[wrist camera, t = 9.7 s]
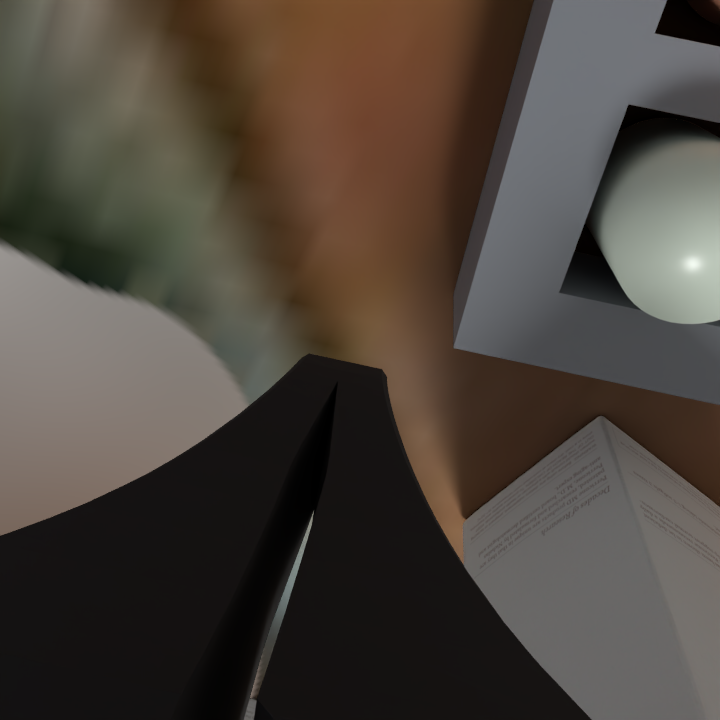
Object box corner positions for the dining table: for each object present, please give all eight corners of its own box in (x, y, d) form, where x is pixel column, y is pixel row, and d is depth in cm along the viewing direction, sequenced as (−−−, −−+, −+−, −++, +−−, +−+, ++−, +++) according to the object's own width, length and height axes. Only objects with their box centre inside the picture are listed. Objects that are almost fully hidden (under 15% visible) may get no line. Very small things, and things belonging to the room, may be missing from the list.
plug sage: (561, 239, 19) (589, 305, 15) (608, 104, 17) (655, 139, 13) (688, 265, 19) (750, 338, 15) (751, 133, 17) (842, 177, 13)
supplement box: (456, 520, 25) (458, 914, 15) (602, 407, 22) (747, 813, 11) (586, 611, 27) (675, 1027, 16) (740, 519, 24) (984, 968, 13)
